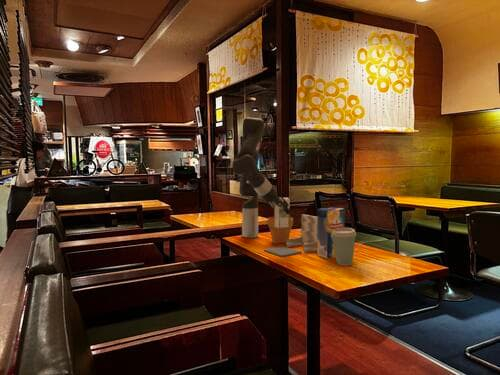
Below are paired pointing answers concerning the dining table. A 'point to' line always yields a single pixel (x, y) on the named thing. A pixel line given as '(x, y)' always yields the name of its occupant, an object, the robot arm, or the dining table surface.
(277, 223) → the syrup box
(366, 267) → the dining table surface
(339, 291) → the dining table surface
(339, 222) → the beverage box
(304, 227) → the cubby
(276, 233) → the flower pot
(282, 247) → the mat
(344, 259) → the disposable coffee cup
